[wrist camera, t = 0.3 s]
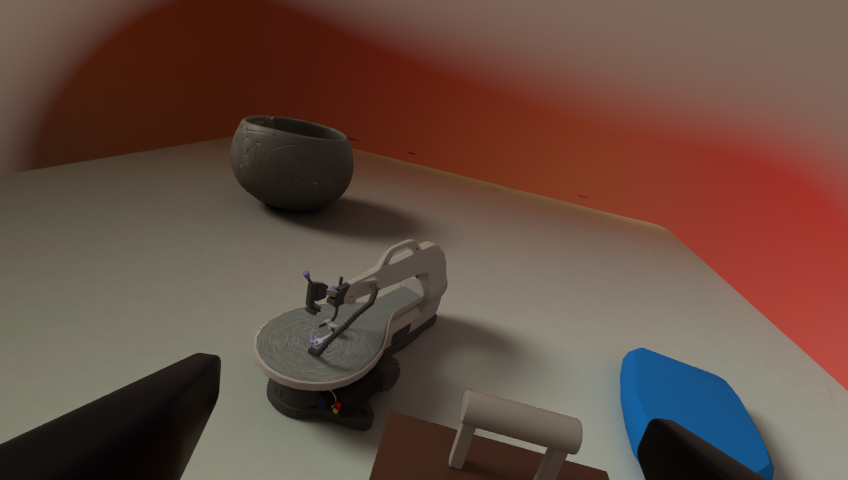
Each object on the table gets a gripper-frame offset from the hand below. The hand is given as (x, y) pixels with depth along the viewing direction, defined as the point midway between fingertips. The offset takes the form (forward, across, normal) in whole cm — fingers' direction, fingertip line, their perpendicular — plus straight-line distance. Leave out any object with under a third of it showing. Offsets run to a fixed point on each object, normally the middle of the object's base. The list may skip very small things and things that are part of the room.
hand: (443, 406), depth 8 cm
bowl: (+58, +17, +12) cm, 61 cm away
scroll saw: (+24, +2, +15) cm, 29 cm away
